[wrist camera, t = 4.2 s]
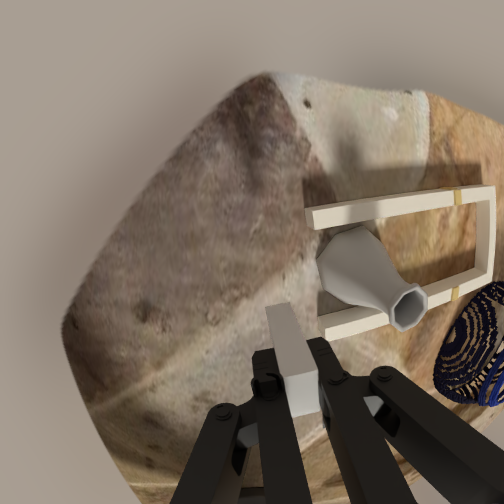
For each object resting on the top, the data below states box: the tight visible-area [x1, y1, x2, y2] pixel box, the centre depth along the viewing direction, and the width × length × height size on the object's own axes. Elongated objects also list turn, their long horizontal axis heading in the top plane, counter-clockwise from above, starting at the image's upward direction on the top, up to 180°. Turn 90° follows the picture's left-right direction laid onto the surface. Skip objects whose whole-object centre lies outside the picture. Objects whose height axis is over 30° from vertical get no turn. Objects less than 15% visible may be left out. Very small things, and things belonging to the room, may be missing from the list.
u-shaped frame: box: [304, 184, 496, 342], centre depth 23 cm, size 24×12×3 cm, turn 100°
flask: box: [316, 225, 428, 332], centre depth 20 cm, size 7×7×10 cm
